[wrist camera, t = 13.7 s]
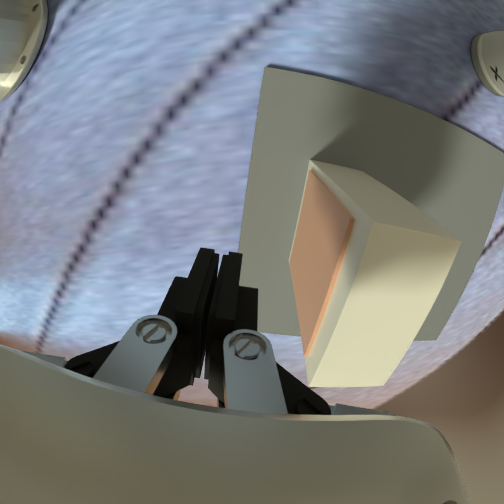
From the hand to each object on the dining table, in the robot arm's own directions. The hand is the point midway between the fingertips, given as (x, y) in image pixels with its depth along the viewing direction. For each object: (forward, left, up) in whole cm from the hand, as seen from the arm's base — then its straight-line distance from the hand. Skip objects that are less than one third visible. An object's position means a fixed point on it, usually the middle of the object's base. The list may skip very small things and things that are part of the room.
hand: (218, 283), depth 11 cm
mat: (+1, +12, -11) cm, 17 cm away
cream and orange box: (0, +7, -10) cm, 12 cm away
